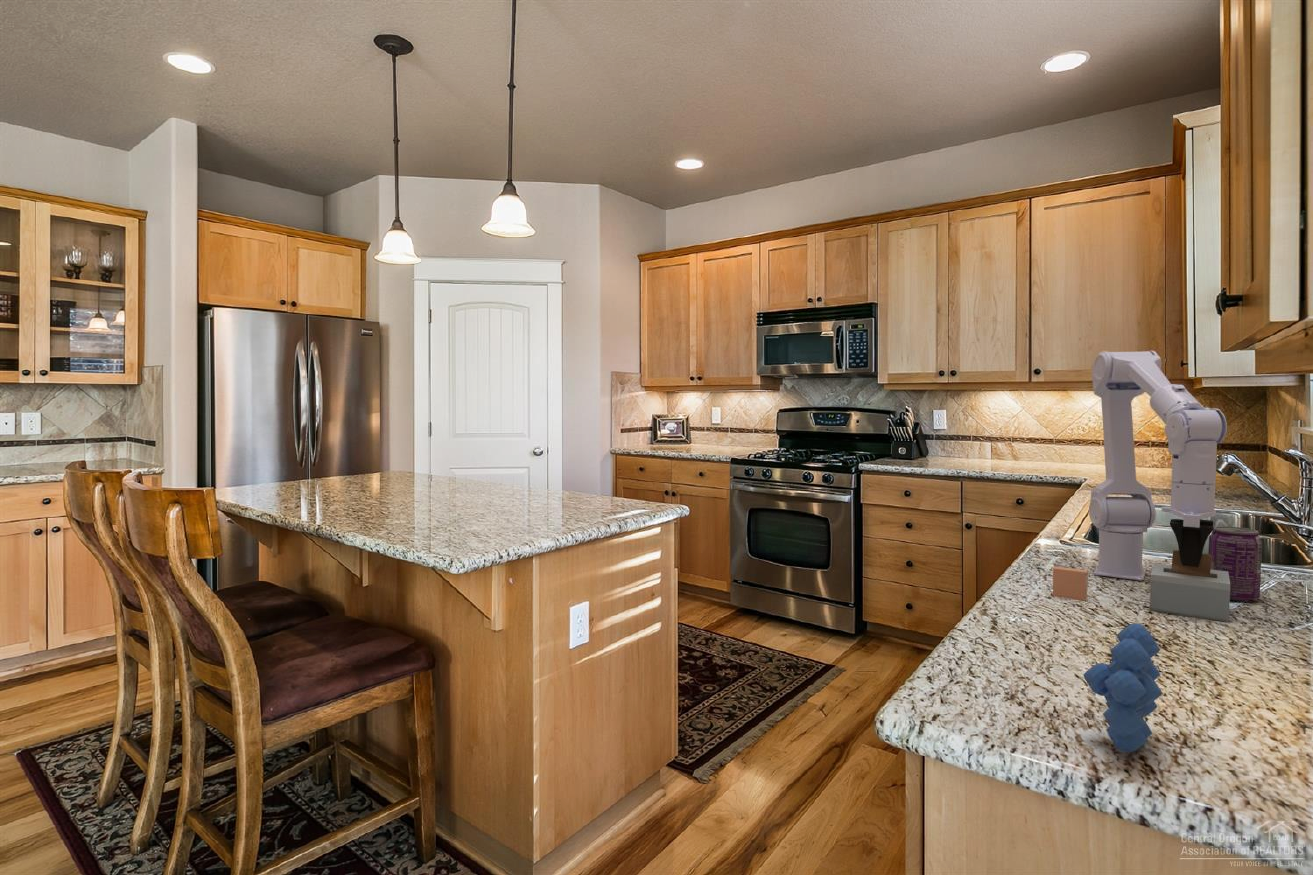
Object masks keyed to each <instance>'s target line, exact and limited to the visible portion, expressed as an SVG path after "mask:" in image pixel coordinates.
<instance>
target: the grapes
mask: <svg viewBox="0 0 1313 875" xmlns="http://www.w3.org/2000/svg"><path fill="white" fill-rule="evenodd" d="M1116 638H1117V639H1118V643H1117V644H1116V645H1114V646H1113V647H1112V648H1111V649H1110V650H1109V652H1110V655H1111V656H1112V657H1111V658H1110V659H1109V660H1110V661H1111V662H1110V663H1109V664H1106V663H1105V662H1099V663H1096V664H1095V665H1092V666H1091V667H1090V668H1089V669H1087V670H1086V671H1085V672H1084V673H1083V674H1082V675H1083V678H1084V680H1085V681H1086V683H1087V685H1088V687H1089V688H1090V690H1092V692H1093V693H1094V694H1097V695H1098V696H1101V697H1104V699H1105V701H1106V702H1105V705H1106V706H1107V707H1108V708H1107V709H1106V710H1105V711H1104V712H1103V713H1102V715H1103V716H1104V717H1103V718H1104V719H1105V721H1106V723H1107V724H1108V727H1107V728H1106V729H1105V730H1106V733H1107V735H1108V736H1109V738H1110V740H1111V741H1112V744H1114V746H1115V747H1116V749H1117V750H1119V751H1120V752H1122V753H1125V754H1130V753H1134V752H1136V751H1138V750H1139V749H1140V748H1141V747H1142V746H1144V744H1146V743H1147V742H1148V740H1147V739H1148V738H1149V737H1151V736H1152V734H1153V732H1152V730H1151V729H1150V726H1149V725H1148V723H1147V722H1146V720H1145V719H1144V718H1146V717H1148V716H1149V715H1150V714H1151V713H1152V712H1154V711H1155V710H1156V709H1157V708H1158V706H1157V704H1156V702H1155V701H1156V700H1157V699H1159V698H1160V697H1161V696H1162V695H1163V692H1162V690H1161V688H1160V687H1159V685H1158V684H1157V682H1156V680H1157V679H1158V678H1159V677H1160V676H1161V673H1160V671H1159V670H1158V668H1157V666H1156V665H1155V663H1153V661H1152V658H1153V657H1154V656H1156V655H1157V654H1158V653H1159V652H1161V649H1160V647H1159V645H1158V643H1157V641H1156V640H1155V639H1154V637H1153V636H1152V634H1151V632H1150V631H1149V630H1148V629H1147V627H1146V626H1144V625H1142V624H1141V623H1138V622H1136V623H1135V622H1134V623H1130V624H1128V625H1127V626H1126V627H1124V628H1123V629H1122V630H1121V631H1119V633H1117V634H1116Z"/></svg>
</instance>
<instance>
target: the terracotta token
mask: <svg viewBox="0 0 1313 875" xmlns="http://www.w3.org/2000/svg"><path fill="white" fill-rule="evenodd" d="M1052 569H1053V570H1052V597H1055V598H1062V597H1063V598H1062V599H1069V600H1076V601H1082V602H1083V601H1084V602H1086V601H1087V599H1088V583H1089V582H1088V581H1089V580H1088V578H1089V575H1088V574H1089V571H1088V570H1087V569H1079V568H1072V567H1065V566H1055V565H1054V567H1053V568H1052Z"/></svg>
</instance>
